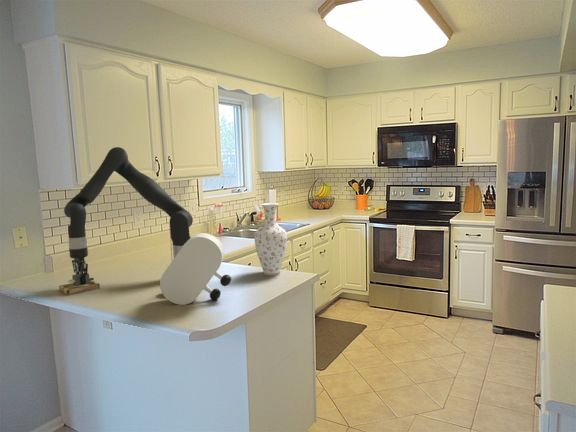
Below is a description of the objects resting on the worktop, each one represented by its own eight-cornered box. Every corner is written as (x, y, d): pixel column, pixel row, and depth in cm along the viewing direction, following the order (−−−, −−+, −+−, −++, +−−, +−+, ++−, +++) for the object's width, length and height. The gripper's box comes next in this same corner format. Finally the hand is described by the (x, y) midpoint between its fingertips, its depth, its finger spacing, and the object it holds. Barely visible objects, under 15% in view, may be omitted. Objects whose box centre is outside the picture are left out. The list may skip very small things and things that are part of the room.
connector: (95, 282, 206) (94, 273, 205) (70, 287, 198) (70, 277, 198) (91, 281, 209) (91, 271, 208) (67, 285, 201) (67, 276, 201)
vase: (271, 267, 234) (268, 201, 229) (294, 272, 224) (292, 203, 219) (249, 274, 222) (246, 204, 217) (272, 279, 212) (270, 206, 207)
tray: (99, 288, 204) (99, 283, 204) (67, 295, 194) (67, 290, 194) (90, 283, 212) (90, 279, 212) (59, 290, 202) (59, 285, 202)
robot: (246, 259, 186) (198, 225, 183) (244, 264, 177) (195, 229, 174) (204, 314, 188) (157, 282, 186) (201, 322, 180) (152, 288, 177)
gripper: (92, 247, 199) (95, 284, 201) (81, 243, 209) (84, 278, 211) (74, 250, 193) (78, 288, 196) (64, 246, 204) (67, 282, 206)
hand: (81, 283), depth 203 cm, fingers closed on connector, 4 cm apart
